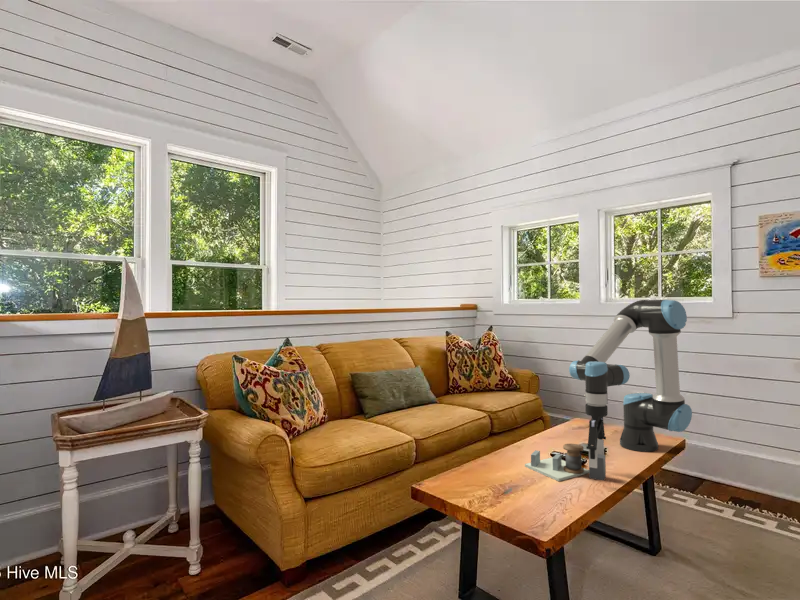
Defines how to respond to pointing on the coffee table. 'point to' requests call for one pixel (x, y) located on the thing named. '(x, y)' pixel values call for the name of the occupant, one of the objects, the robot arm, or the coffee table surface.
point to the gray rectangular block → (598, 469)
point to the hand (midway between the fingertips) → (596, 461)
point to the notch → (536, 460)
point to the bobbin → (573, 458)
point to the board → (547, 470)
